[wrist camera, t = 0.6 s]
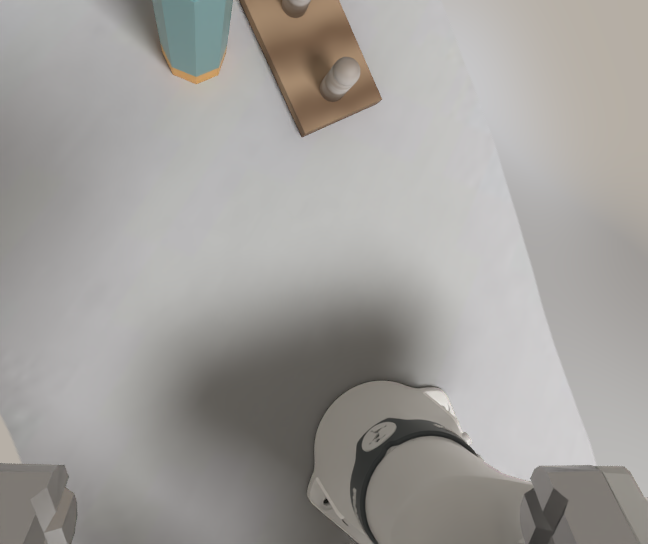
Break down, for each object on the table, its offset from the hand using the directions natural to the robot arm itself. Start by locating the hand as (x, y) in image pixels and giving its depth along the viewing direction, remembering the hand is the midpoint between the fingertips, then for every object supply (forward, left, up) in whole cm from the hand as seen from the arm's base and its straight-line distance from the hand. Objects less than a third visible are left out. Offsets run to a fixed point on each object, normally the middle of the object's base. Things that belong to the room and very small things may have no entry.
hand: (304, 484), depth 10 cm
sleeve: (+21, -12, -51) cm, 56 cm away
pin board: (+14, -22, -51) cm, 57 cm away
